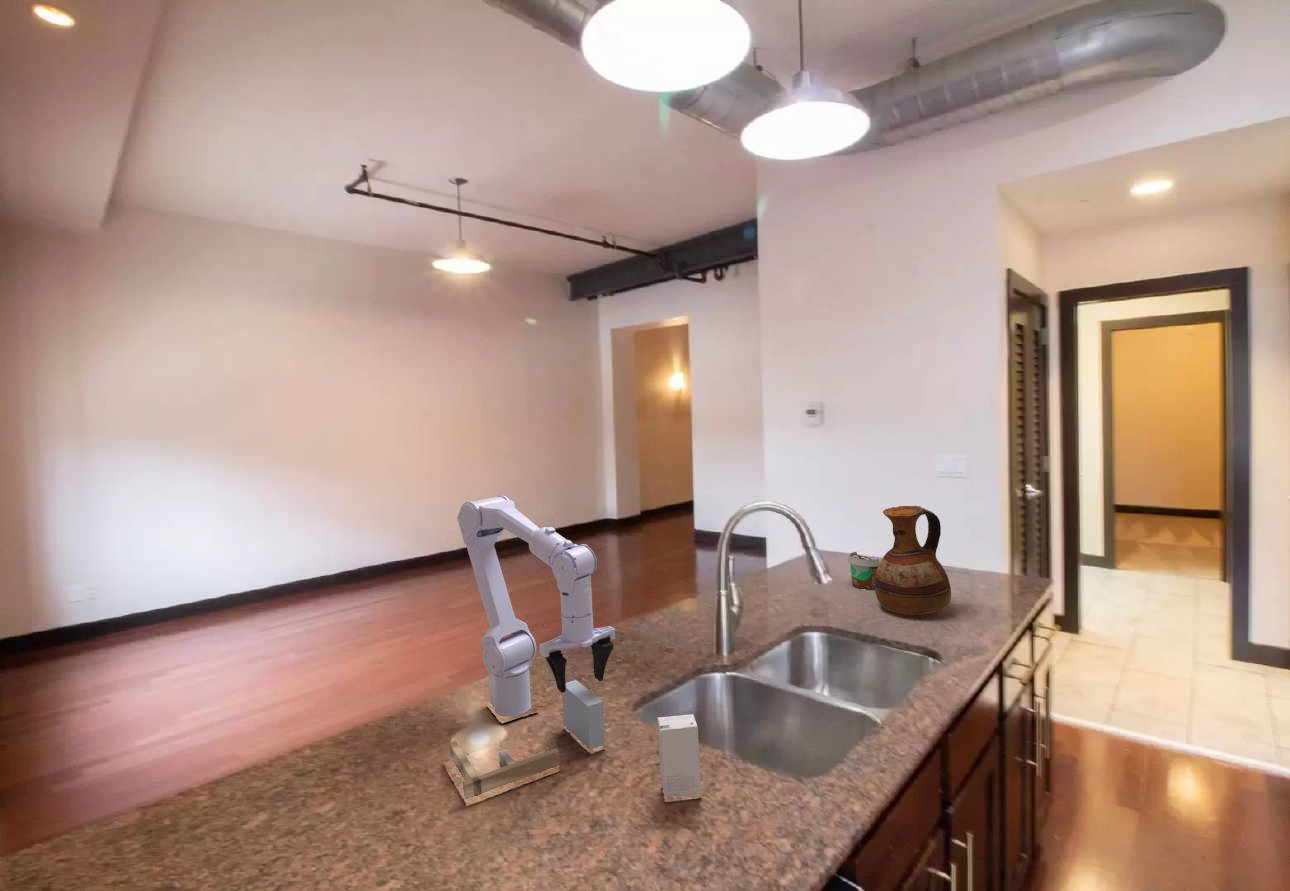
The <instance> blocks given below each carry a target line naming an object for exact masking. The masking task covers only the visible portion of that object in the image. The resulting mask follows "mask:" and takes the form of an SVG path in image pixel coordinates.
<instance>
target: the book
mask: <svg viewBox="0 0 1290 891" xmlns="http://www.w3.org/2000/svg"><path fill="white" fill-rule="evenodd" d="M561 696H562V698H561V700H562V718H563V727H564V726H566V727H567V729H568V730H570V731H571V732H572V733H573V734H574V735H575V736H576V737H577V738H578V739H579V740H580V741H581V742H582V743H583V744H585V745H586V747H587V748H588V749H594V748H597V747H599V746H603V745H606V744H605V739H606V738H605V722H604V721H605V718H604V701H603V700H602V699H601V698H600V697H598V696H596V695H595V694H594V693H593V692H592V691H590V690H589V689H588V688H587V687H585V685H583V684H582V683H580V682H579V681H578V680H576V679H574V680H571V681H567V682H566V692H563V693H562V694H561Z"/></svg>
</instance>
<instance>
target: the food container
mask: <svg viewBox="0 0 1290 891" xmlns="http://www.w3.org/2000/svg"><path fill="white" fill-rule="evenodd" d="M847 563H848V564H850V565H849V566H850V578H851V585H852V587H853V588H854V587H855V589H858V590H861V589H866V590H865V591H875V576H876V571H877V568H878V565H879V563H880V559H872V558H870V557H868V556H863V555H859V554H858V552H857V551H853V552H851V553H849V555H848V558H847Z"/></svg>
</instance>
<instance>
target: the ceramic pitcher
mask: <svg viewBox="0 0 1290 891" xmlns="http://www.w3.org/2000/svg"><path fill="white" fill-rule="evenodd" d="M882 513H883V515H884V516H886V517H887V518H888V519H889V520H890V522H891V524H892V535H893V537H894V541H893V546H892V548H891V549H889V550H888V551H886V553H885V554H884V555H883V556H882V558H881V560H879V562H880V563H879V565H878V568H877V571H876V576H875V590H874V592H875V596H876V599H877V601H878V604H880V605H881V607H883V608H884V609H886V610H888V611H890V612H892V613H897V614H902V615H903V614H904V615H924V614H930V613H935V612H938V611H941V610H943V609H945V608H946V607H947V606H949V605H950V602H951V598H952V590H951V583H950V579H949V577H948V574H947V572H946V570H945V568H944V566H943V565H942V564H941V562H940V561H939V560H938V558H937V549H938V547H939V543H940V538H941V533H942V532H941V528H942V526H941V521H940V519H939V517H938V515H936V514H935V513H934V512H933V511H931V510H929V509H926V508H924V507H921V506H918V505H899V506H895V507H894V506H892V507H888V508H885V509H884V510H883V511H882ZM924 515H925V516H926V520H927V536H926V540H925V542H924V545H921V544H920V542H919V541H918V537H917V529H916V526H917V522H918V520H919V518H920V517H921V516H924Z"/></svg>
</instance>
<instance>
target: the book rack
mask: <svg viewBox="0 0 1290 891" xmlns="http://www.w3.org/2000/svg"><path fill="white" fill-rule="evenodd" d="M448 745H449V757H451V758H452V760H453V762H454V763H455V765H456V767H457V768H458V770H459V772H460V773H461V775H462V777H463V778H464V780H465V781H463V790H464V796H465V798H466V799H468V798H470V797H473V796H478V795H480V794H482V793H484V792H487V791H490V790H492V789H495V788H497V787H501V786H503V785H506V784H508V783H512V782H516V781H518V780H520V779H523V778H526V777H531V776H533V775H535V774H537V773H541V772H543V771H545V770H547V769H550V768H554V767H556V766H558V765H560V750H558V748H553V749H550V750H548V751H545V752H544V753H541V754H538V755H536V756H533V757H530V758H527V759H524V760H522V761H519V762H516V763H515V761H514V760H513V759H512V757H511V756H510V755H509V753H508V752H507V751H506V750H503V751H500V752H499V765H500V767H501V768H499V769H496V770H493V771H491V772H488V773H485V774H482V775H479V776H478V774H477V773H476V771H475V769H474V768H473V766H472V765H471V763H470V762H469V760H468V759H467V757H466V755H465V754H466V753H464V750H463V749H462V748H461V746H460V744H459V743H458V741H457V740H454V741H451V742H449V744H448ZM560 766H561V765H560Z"/></svg>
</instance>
